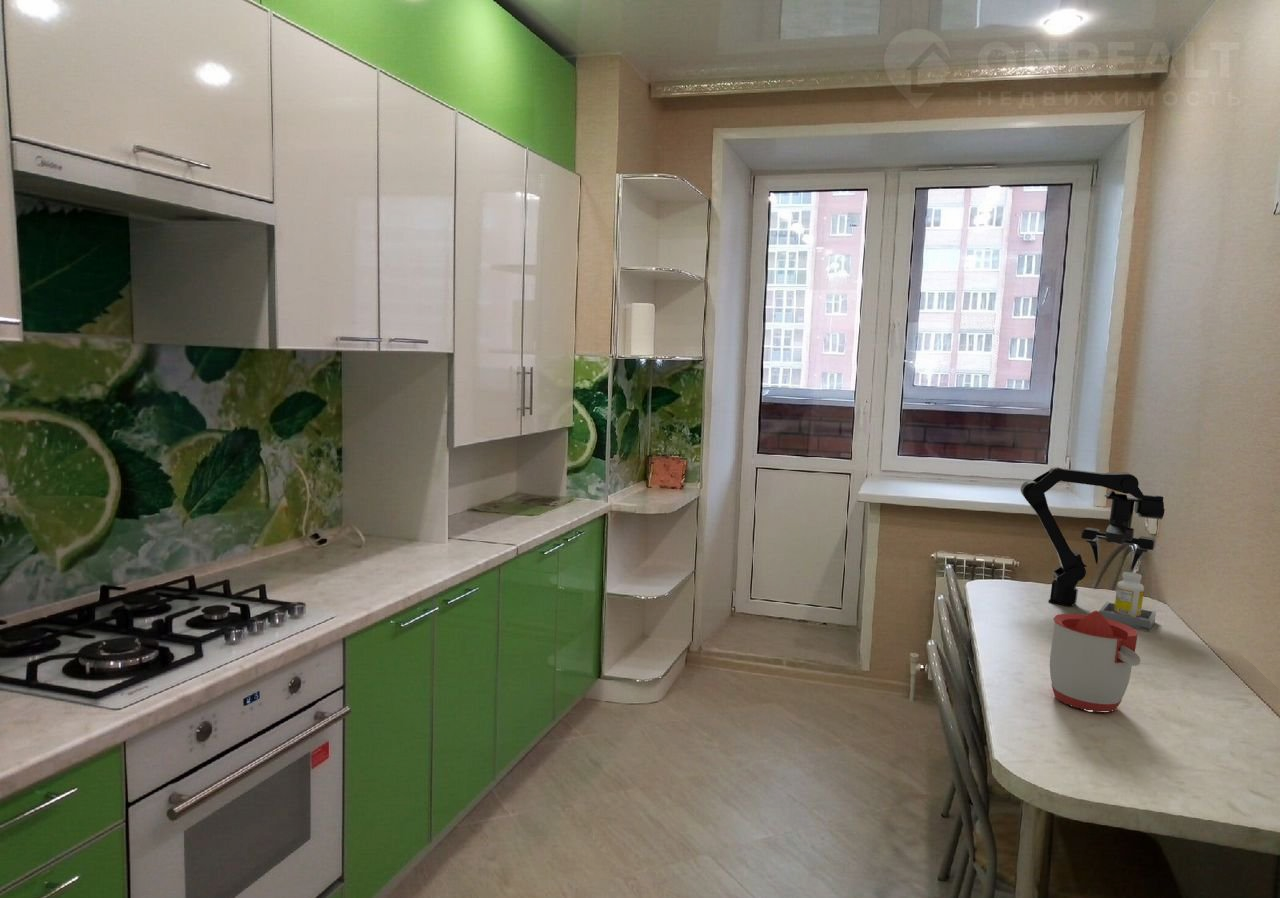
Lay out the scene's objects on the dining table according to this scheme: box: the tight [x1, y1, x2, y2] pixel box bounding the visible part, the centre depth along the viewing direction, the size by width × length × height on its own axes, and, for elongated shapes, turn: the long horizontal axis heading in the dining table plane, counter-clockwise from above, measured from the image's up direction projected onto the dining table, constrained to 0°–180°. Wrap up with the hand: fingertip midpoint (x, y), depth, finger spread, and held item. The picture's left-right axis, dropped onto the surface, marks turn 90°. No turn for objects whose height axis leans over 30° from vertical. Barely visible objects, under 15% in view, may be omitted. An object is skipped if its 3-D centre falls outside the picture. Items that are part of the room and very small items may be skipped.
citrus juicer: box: [1049, 610, 1141, 712], centre depth 178 cm, size 16×17×20 cm
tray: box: [1098, 601, 1157, 633], centre depth 243 cm, size 13×13×3 cm
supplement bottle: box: [1114, 571, 1145, 618], centre depth 243 cm, size 7×7×13 cm
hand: (1114, 566), depth 254 cm, fingers open, 9 cm apart
